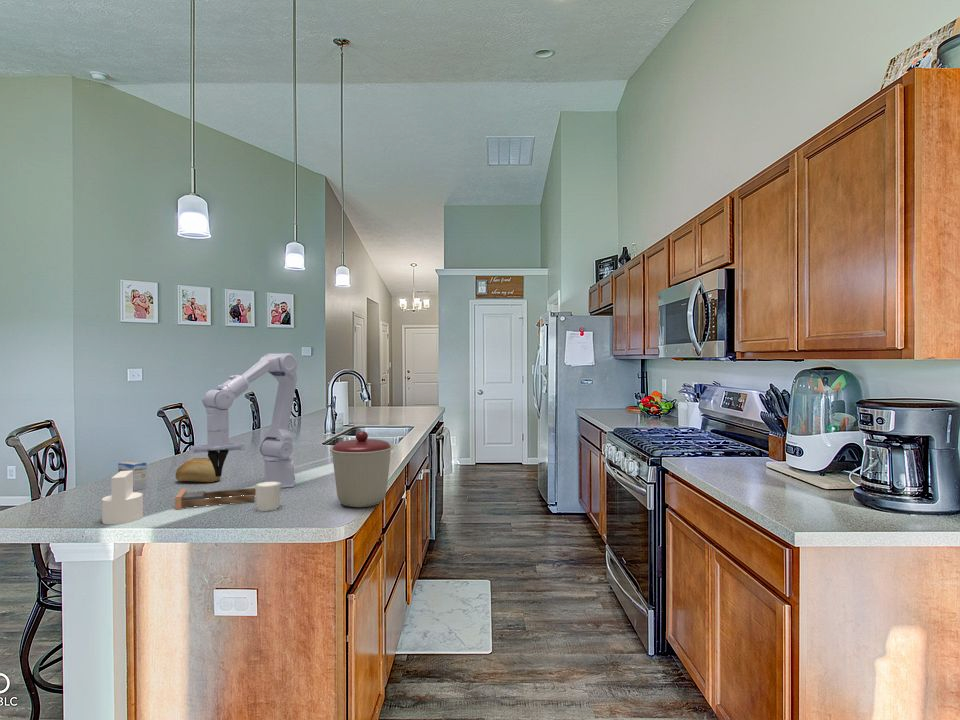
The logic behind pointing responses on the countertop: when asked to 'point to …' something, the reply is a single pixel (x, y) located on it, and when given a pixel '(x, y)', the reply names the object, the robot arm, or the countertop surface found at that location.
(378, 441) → the canister
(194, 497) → the block
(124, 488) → the base with upright slab
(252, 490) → the rail lane
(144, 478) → the medicine box
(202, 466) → the bread roll
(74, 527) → the countertop surface
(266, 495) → the white cylinder
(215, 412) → the robot arm
